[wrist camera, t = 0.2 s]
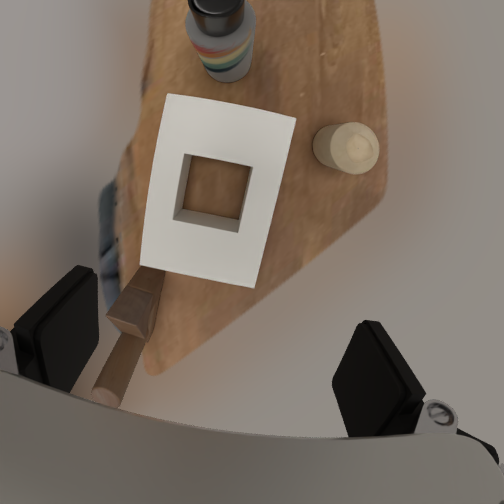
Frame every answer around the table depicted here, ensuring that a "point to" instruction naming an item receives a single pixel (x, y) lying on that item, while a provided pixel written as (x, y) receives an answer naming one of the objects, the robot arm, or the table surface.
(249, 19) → the lotion bottle
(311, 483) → the robot arm
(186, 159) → the bottle caddy
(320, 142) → the candle
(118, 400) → the brown block with handle
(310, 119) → the table surface
